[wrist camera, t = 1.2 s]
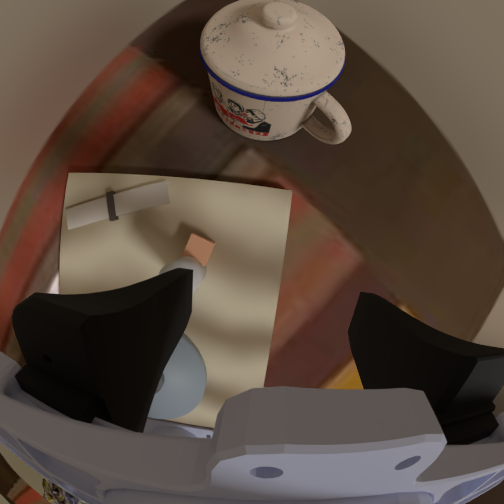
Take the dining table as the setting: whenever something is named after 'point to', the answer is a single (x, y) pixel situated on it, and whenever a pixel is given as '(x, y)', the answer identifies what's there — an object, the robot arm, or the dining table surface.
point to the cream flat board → (172, 247)
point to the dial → (184, 347)
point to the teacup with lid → (274, 69)
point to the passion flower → (59, 494)
